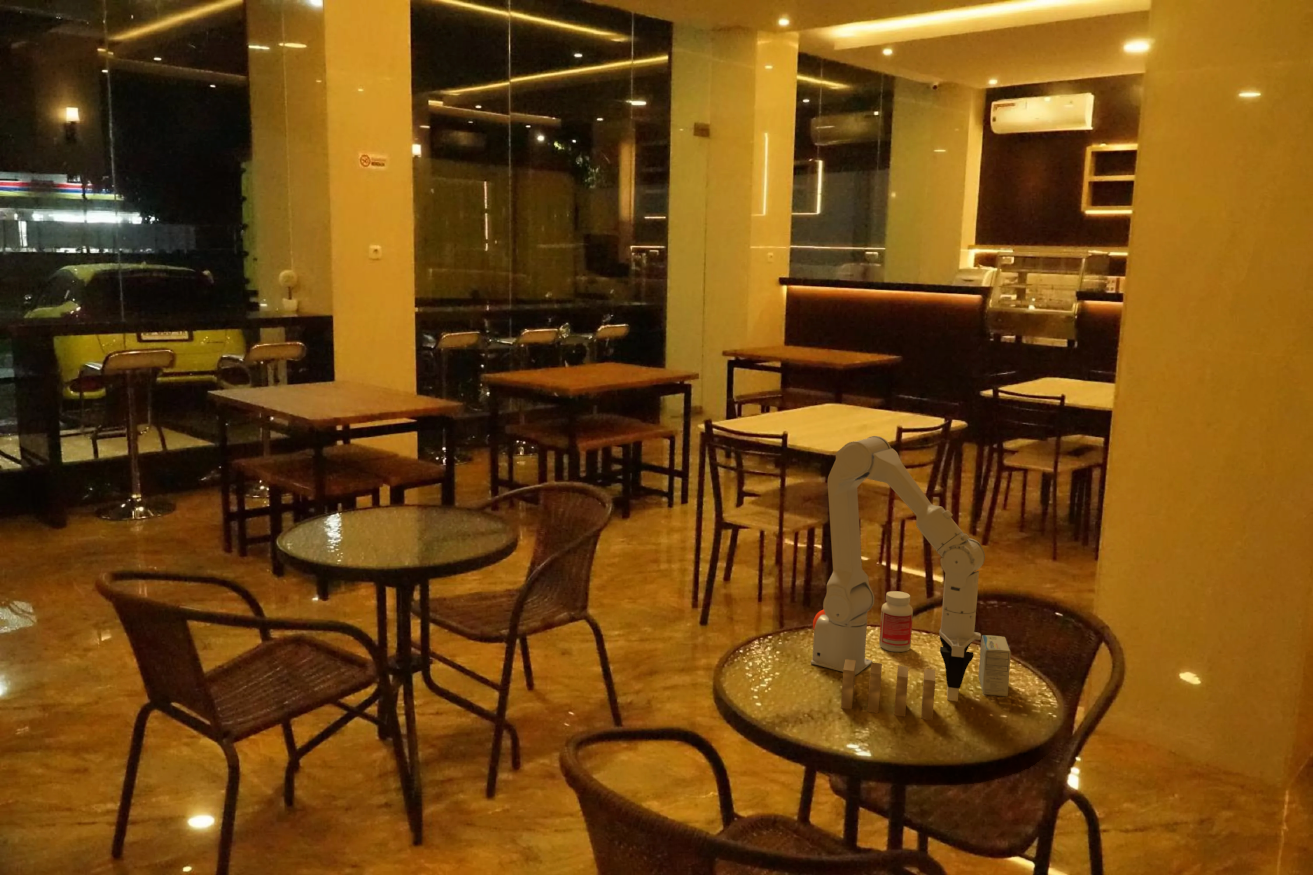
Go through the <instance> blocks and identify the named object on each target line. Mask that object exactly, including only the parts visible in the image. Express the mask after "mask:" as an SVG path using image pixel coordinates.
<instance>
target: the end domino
mask: <svg viewBox="0 0 1313 875" xmlns="http://www.w3.org/2000/svg"><path fill="white" fill-rule="evenodd" d="M959 691H960V688H959V689H958V688H950V687H948V686H947V685H946V698H947V701H952V702H958V701H959Z"/></svg>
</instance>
